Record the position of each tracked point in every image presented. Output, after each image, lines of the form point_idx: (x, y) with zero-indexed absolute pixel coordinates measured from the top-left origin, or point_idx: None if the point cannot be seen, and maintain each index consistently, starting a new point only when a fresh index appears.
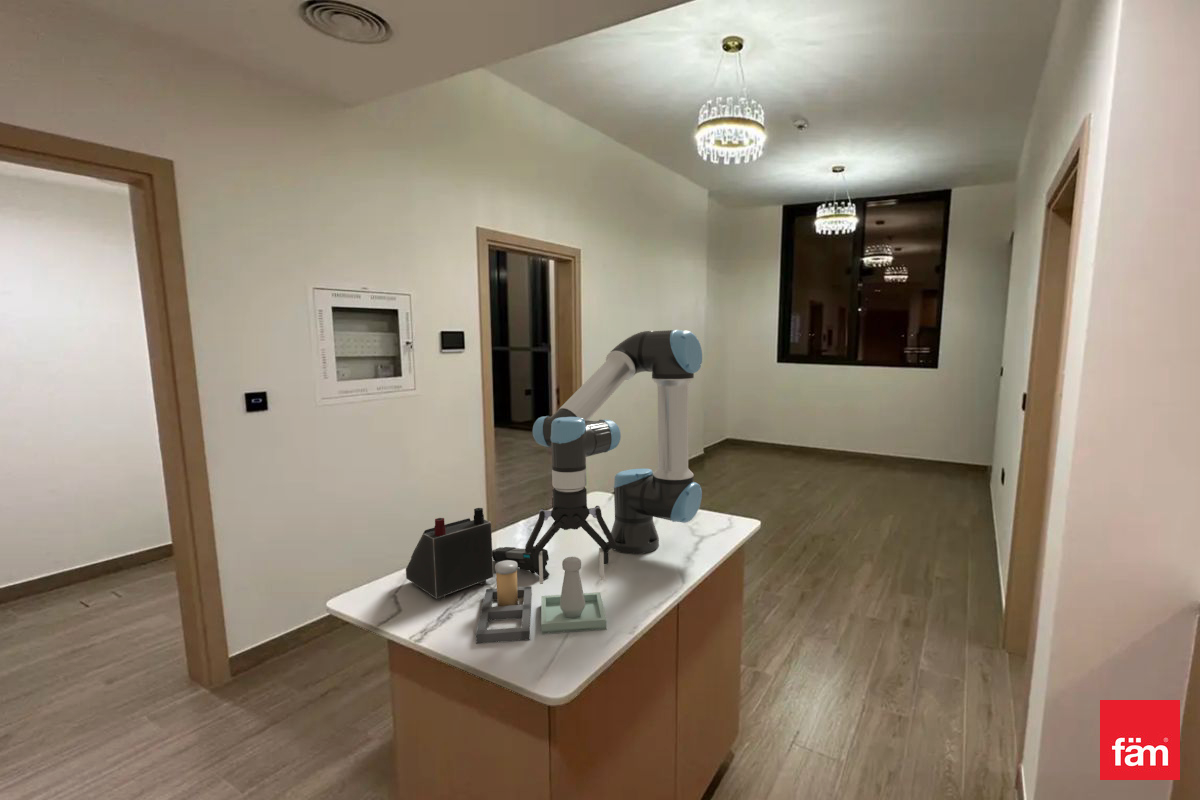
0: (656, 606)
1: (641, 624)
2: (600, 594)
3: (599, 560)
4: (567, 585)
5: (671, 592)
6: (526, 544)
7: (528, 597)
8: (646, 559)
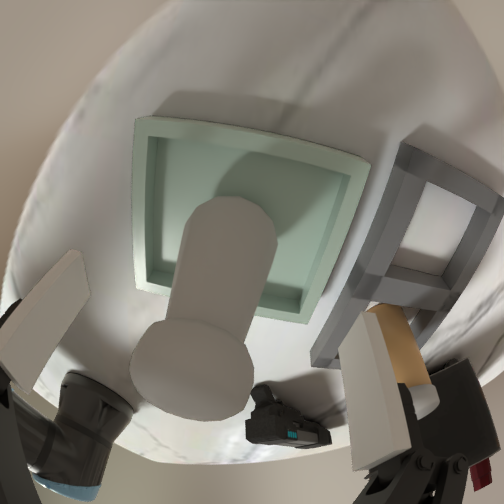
0: (36, 205)
1: (65, 127)
2: (135, 277)
3: (51, 340)
4: (242, 276)
5: (20, 250)
6: (432, 492)
7: (341, 328)
8: (73, 361)
